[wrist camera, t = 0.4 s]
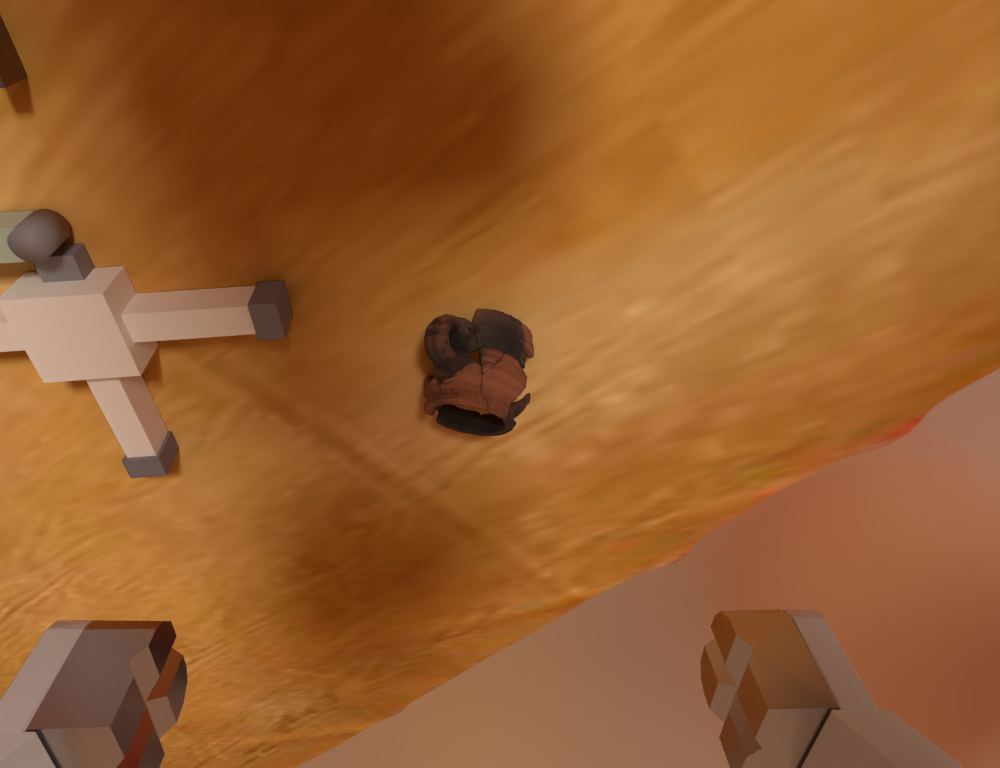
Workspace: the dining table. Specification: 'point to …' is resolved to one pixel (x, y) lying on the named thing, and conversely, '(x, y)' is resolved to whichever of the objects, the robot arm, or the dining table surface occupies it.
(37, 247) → the hinged leg
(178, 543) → the dining table surface
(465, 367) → the pottery mug
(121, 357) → the stool base
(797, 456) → the dining table surface
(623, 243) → the dining table surface
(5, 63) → the leg socket
